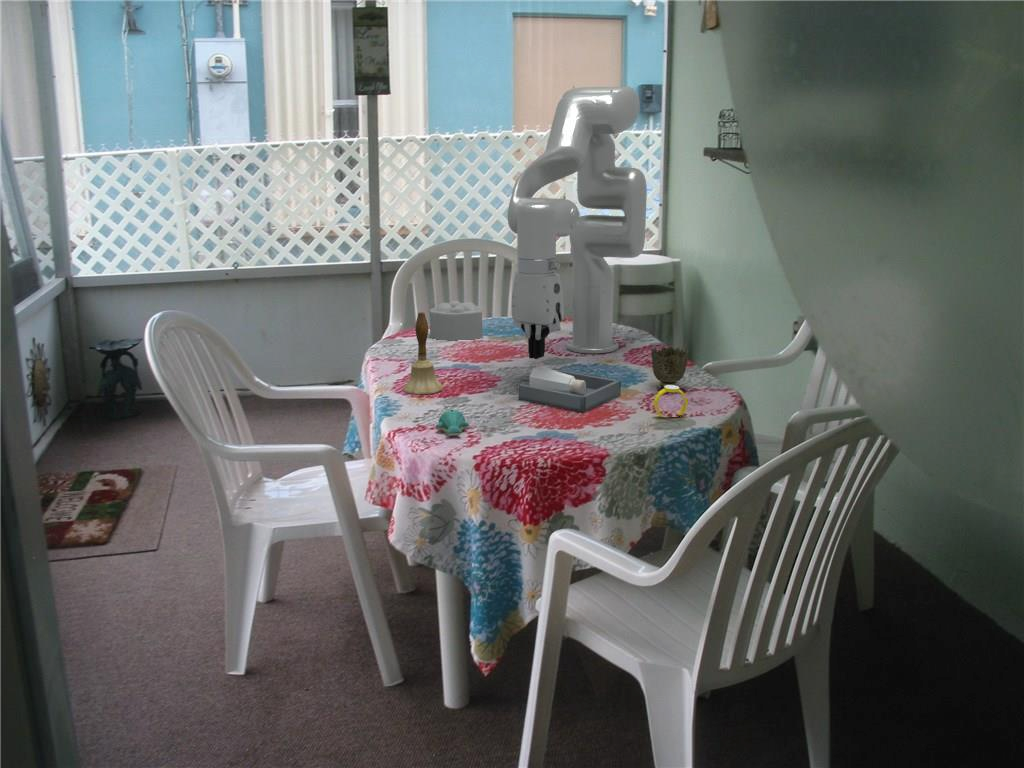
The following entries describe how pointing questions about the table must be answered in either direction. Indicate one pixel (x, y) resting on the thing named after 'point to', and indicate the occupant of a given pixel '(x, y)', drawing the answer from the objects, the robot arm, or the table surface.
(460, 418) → the whale figurine
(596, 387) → the tray
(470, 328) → the lumpy-topped squat cylinder
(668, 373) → the cup
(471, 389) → the table surface
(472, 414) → the table surface
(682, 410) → the watch
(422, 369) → the hand bell
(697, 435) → the table surface
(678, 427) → the table surface
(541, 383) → the pepper shaker
